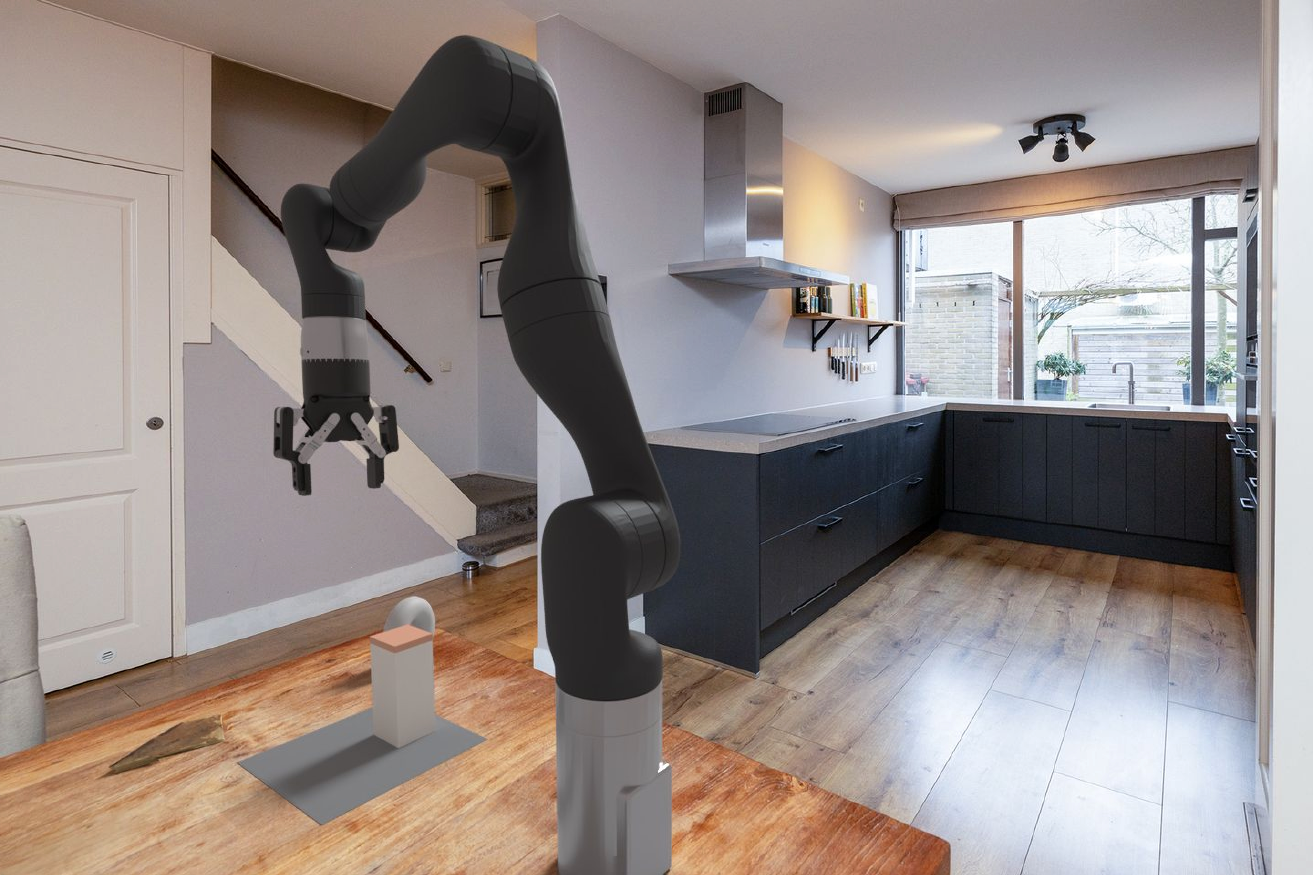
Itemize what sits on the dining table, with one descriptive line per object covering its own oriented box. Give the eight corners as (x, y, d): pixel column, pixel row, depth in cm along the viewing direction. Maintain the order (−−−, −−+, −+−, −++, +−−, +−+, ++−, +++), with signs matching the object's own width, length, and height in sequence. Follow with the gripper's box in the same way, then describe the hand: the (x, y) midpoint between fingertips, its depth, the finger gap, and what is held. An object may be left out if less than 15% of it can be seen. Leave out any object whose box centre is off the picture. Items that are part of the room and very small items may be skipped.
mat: (487, 743, 85) (487, 738, 85) (321, 829, 69) (321, 824, 69) (398, 700, 96) (398, 696, 96) (237, 766, 80) (236, 762, 80)
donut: (398, 678, 102) (396, 610, 101) (378, 675, 103) (375, 607, 102) (440, 652, 112) (438, 589, 111) (421, 649, 113) (419, 586, 112)
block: (435, 730, 87) (432, 633, 86) (398, 748, 83) (394, 646, 82) (410, 718, 90) (407, 624, 89) (373, 734, 86) (369, 636, 85)
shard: (109, 779, 79) (108, 763, 78) (113, 748, 85) (112, 734, 85) (225, 749, 85) (224, 734, 84) (222, 722, 91) (220, 709, 91)
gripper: (286, 354, 80) (292, 500, 81) (406, 358, 90) (410, 487, 91) (260, 357, 85) (266, 495, 86) (377, 360, 96) (381, 483, 96)
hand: (340, 491), depth 89 cm, fingers open, 8 cm apart
